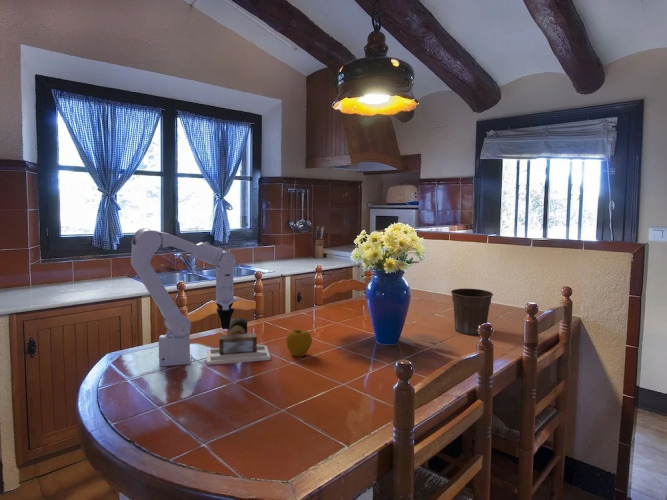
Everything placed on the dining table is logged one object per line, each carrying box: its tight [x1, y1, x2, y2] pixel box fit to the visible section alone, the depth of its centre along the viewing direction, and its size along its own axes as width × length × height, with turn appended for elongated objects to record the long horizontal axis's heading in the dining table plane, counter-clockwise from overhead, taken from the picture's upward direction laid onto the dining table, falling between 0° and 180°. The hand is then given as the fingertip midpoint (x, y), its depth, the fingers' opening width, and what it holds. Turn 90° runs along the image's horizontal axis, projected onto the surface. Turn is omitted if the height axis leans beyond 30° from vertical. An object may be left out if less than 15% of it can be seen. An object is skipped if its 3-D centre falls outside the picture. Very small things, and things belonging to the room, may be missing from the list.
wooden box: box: [218, 332, 258, 355], centre depth 148 cm, size 12×4×6 cm, turn 105°
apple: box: [285, 328, 313, 358], centre depth 151 cm, size 8×8×9 cm
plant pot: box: [450, 288, 494, 336], centre depth 181 cm, size 16×16×16 cm
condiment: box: [226, 318, 248, 335], centre depth 158 cm, size 7×8×12 cm
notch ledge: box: [206, 344, 271, 366], centre depth 149 cm, size 20×11×2 cm, turn 105°
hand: (225, 325), depth 152 cm, fingers open, 7 cm apart
